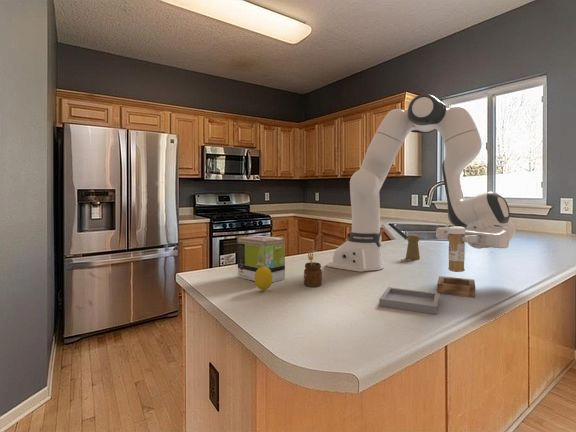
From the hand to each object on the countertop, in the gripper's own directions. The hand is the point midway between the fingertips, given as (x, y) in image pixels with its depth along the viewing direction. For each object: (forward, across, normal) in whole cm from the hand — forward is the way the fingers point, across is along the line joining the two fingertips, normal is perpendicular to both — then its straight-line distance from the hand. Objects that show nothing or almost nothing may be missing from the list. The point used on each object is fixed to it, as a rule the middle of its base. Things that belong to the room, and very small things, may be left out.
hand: (454, 238), depth 101 cm
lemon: (+49, -32, +17) cm, 60 cm away
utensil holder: (+32, -29, +17) cm, 46 cm away
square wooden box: (-1, 0, +16) cm, 16 cm away
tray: (+20, 0, +16) cm, 26 cm away
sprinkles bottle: (-1, 0, +10) cm, 10 cm away
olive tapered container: (-30, -38, +17) cm, 52 cm away
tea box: (+42, -46, +17) cm, 65 cm away
